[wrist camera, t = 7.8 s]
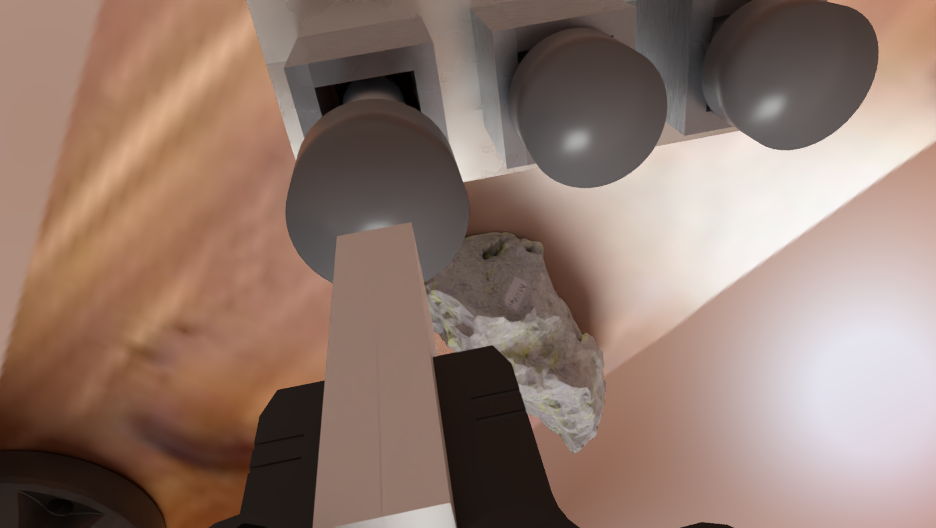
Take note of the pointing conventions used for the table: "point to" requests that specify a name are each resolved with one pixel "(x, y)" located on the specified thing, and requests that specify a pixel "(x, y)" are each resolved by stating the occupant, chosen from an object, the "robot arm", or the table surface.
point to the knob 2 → (587, 107)
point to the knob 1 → (376, 179)
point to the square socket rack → (474, 61)
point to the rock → (522, 330)
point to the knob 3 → (789, 69)
